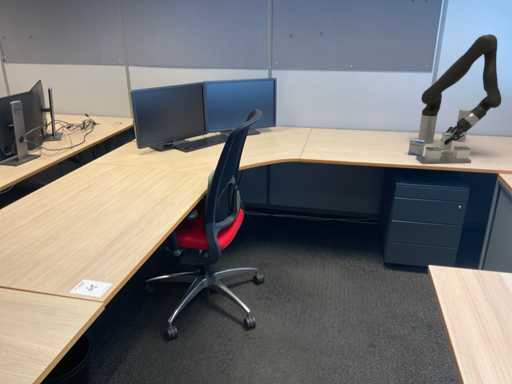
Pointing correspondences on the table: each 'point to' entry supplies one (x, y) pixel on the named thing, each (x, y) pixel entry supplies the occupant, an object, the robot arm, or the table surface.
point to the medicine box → (416, 147)
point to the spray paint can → (461, 114)
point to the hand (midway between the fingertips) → (443, 142)
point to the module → (444, 138)
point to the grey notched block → (435, 156)
